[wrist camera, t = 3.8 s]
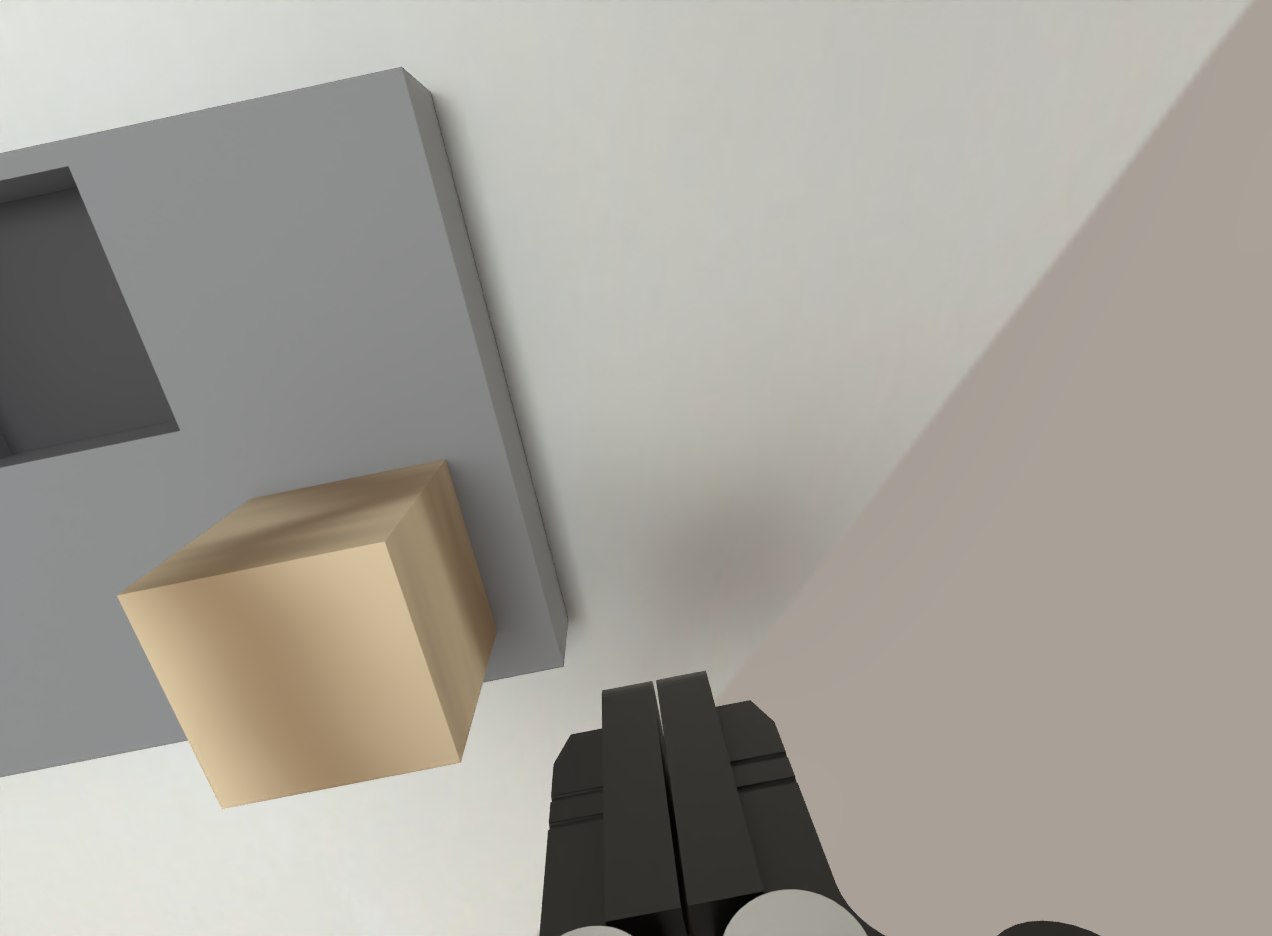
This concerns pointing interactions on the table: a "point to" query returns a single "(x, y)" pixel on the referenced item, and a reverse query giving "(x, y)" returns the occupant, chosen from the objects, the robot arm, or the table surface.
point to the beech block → (322, 635)
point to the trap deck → (233, 378)
